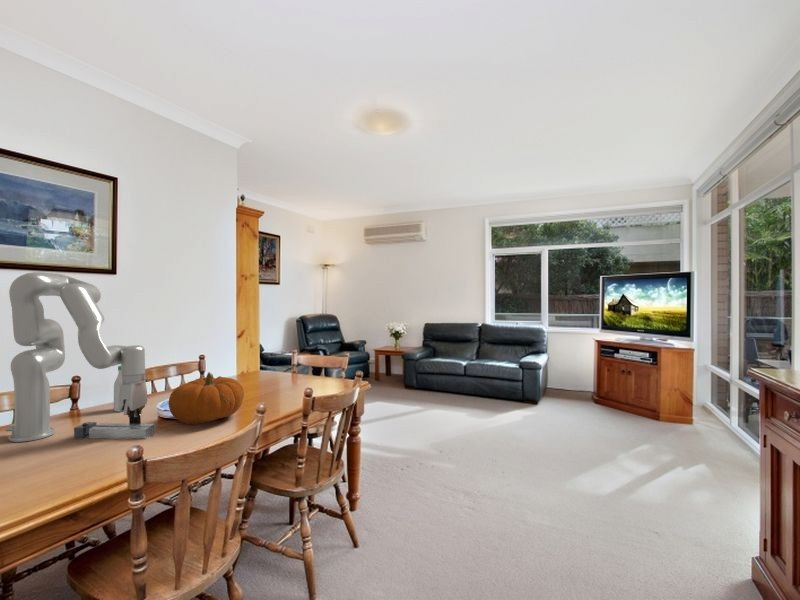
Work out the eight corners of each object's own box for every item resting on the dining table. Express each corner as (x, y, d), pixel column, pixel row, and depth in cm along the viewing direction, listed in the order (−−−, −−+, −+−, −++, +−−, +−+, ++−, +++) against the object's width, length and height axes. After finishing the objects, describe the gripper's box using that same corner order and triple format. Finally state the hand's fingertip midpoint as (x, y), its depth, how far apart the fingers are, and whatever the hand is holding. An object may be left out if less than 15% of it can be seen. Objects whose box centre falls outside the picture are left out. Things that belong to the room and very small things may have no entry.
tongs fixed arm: (74, 438, 144) (74, 426, 144) (88, 432, 150) (88, 420, 150) (144, 439, 144) (144, 426, 144) (155, 433, 150) (155, 421, 150)
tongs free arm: (95, 434, 147) (95, 425, 147) (100, 432, 150) (100, 423, 150) (150, 435, 147) (150, 426, 147) (154, 433, 149) (154, 424, 149)
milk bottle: (114, 413, 174) (114, 367, 174) (112, 409, 180) (112, 365, 180) (135, 410, 180) (135, 365, 179) (133, 406, 185) (133, 363, 185)
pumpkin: (237, 406, 186) (237, 364, 186) (250, 423, 163) (250, 374, 163) (167, 416, 171) (167, 369, 171) (170, 435, 148) (170, 381, 148)
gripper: (136, 374, 158) (137, 420, 159) (109, 383, 143) (111, 433, 144) (155, 374, 158) (156, 420, 159) (130, 382, 143) (132, 433, 144)
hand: (135, 426), depth 151 cm, fingers closed
